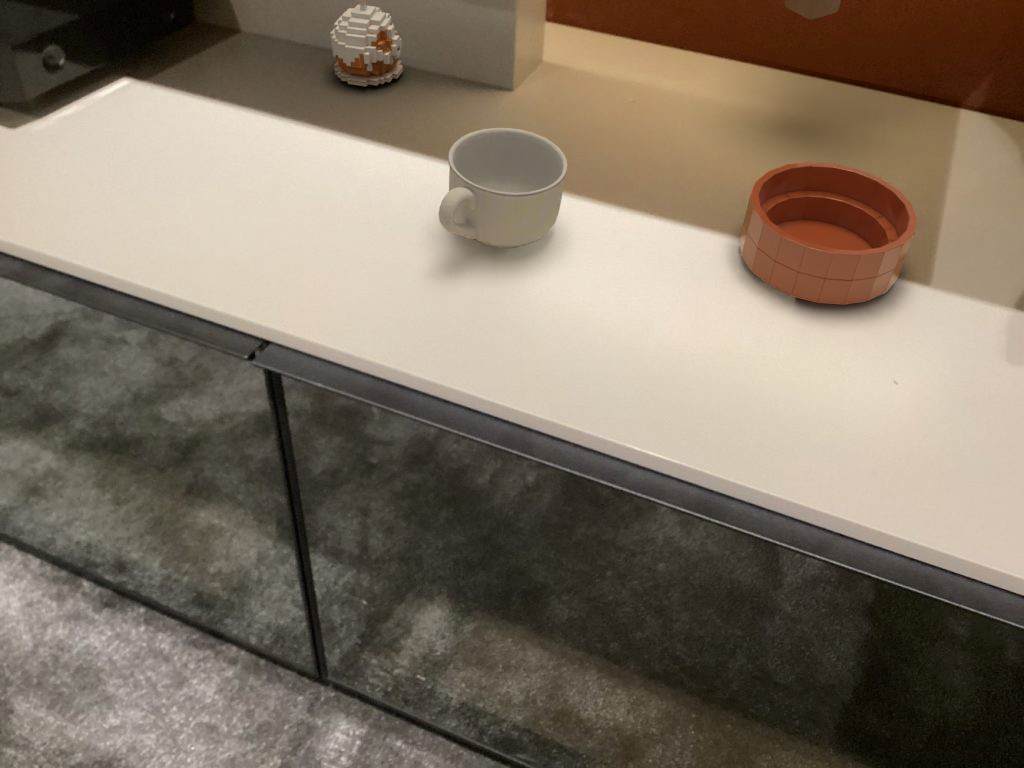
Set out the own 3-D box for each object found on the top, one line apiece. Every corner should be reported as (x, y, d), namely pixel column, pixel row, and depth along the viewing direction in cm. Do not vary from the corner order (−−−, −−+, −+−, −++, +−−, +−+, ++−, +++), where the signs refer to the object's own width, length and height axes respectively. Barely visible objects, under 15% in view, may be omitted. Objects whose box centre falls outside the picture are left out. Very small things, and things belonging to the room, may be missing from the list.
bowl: (904, 237, 93) (924, 183, 89) (885, 326, 83) (907, 271, 79) (756, 201, 97) (769, 149, 92) (722, 284, 87) (735, 229, 83)
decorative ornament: (389, 94, 110) (380, -40, 100) (325, 85, 112) (310, -48, 101) (410, 64, 116) (404, -66, 105) (349, 55, 117) (336, -74, 107)
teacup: (513, 185, 98) (515, 114, 92) (585, 236, 92) (592, 162, 86) (400, 235, 91) (394, 161, 85) (470, 292, 85) (469, 217, 80)
